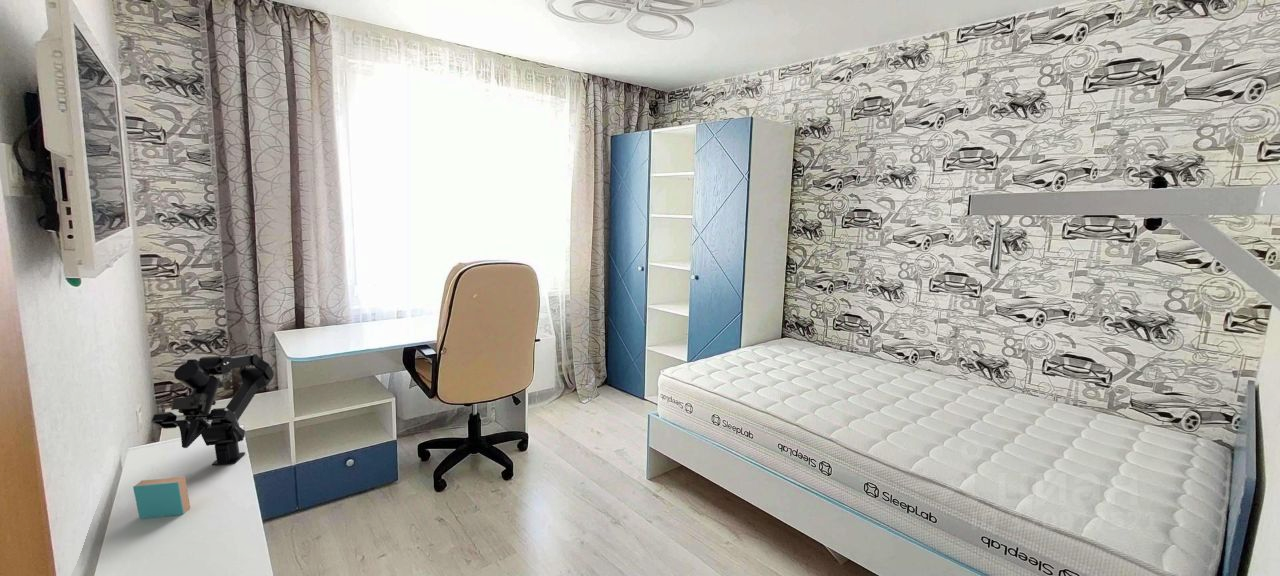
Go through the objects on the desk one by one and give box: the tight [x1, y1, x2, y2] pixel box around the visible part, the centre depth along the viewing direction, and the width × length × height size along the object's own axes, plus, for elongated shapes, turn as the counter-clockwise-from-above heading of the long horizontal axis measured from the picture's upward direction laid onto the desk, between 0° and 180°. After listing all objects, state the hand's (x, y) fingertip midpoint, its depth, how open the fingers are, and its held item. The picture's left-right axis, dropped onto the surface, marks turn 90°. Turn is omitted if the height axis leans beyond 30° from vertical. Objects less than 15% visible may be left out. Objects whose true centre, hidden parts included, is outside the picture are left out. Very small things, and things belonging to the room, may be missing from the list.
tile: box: [132, 476, 191, 519], centre depth 139 cm, size 3×10×9 cm, turn 100°
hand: (184, 447), depth 149 cm, fingers closed
